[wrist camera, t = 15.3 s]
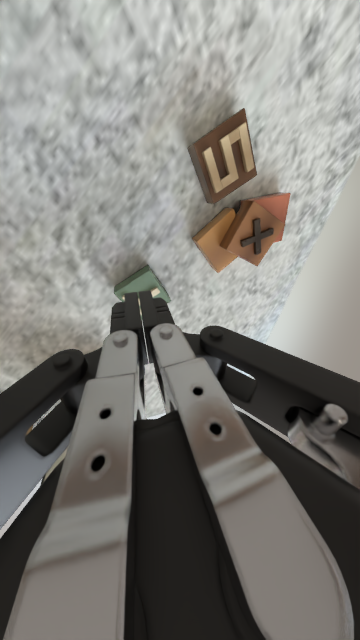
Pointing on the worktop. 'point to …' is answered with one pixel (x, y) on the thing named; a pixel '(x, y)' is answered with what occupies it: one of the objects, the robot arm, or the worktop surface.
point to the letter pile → (244, 231)
